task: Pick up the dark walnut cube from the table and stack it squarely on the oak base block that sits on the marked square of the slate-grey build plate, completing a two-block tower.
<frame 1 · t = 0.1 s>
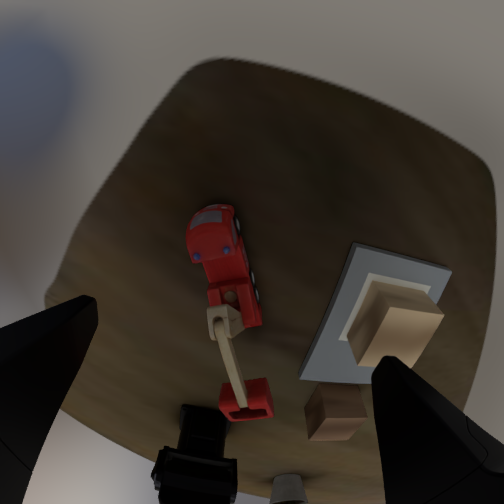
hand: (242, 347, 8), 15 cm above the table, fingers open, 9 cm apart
build plate: (374, 324, 25), on the table
oak base block: (386, 313, 24), point 1 cm above the table, touching build plate
house plant: (293, 477, 41), on the table
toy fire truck: (235, 280, 24), on the table
walnut cube: (330, 396, 30), on the table
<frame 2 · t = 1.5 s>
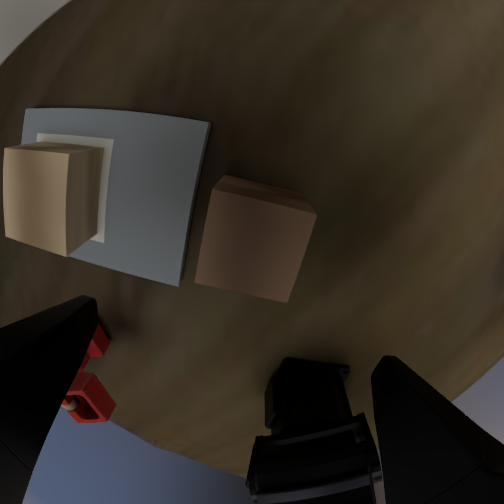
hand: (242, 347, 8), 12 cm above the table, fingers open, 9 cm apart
build plate: (95, 186, 17), on the table
oak base block: (66, 185, 16), point 1 cm above the table, touching build plate
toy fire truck: (82, 328, 23), on the table
walnut cube: (254, 220, 18), on the table
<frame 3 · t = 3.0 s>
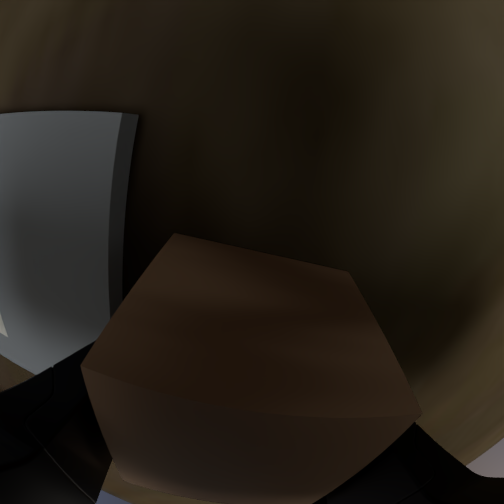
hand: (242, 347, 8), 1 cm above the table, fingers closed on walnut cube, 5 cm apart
walnut cube: (244, 324, 9), on the table, touching gripper
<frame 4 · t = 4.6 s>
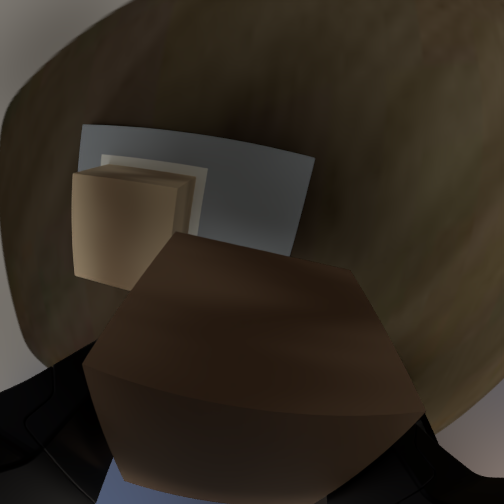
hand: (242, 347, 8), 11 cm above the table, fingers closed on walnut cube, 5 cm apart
build plate: (178, 217, 18), on the table
oak base block: (144, 215, 17), point 1 cm above the table, touching build plate
walnut cube: (246, 323, 9), point 10 cm above the table, touching gripper
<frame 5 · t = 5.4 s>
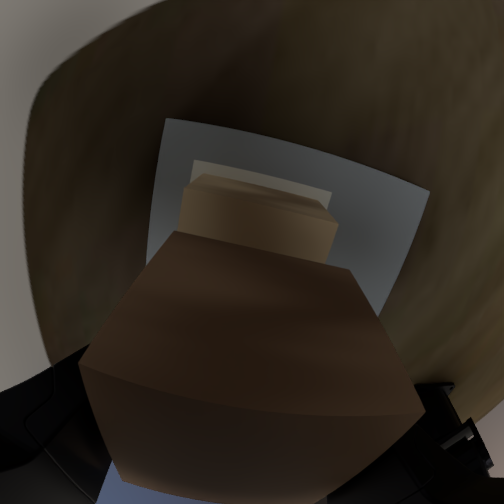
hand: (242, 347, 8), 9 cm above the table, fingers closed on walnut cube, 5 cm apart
build plate: (282, 241, 16), on the table
oak base block: (248, 240, 15), point 1 cm above the table, touching build plate
walnut cube: (244, 323, 9), point 8 cm above the table, touching gripper
when the fingers open (7 cm above the table, at t = 6.1 s): walnut cube drops 1 cm, resting on oak base block.
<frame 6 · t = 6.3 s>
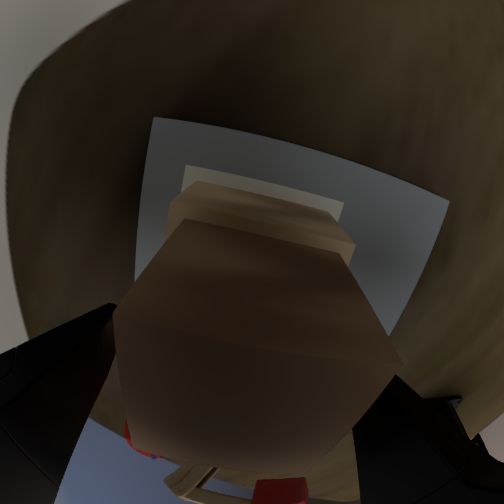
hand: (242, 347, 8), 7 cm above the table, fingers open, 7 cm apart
build plate: (287, 256, 14), on the table
oak base block: (248, 256, 13), point 1 cm above the table, touching build plate, walnut cube
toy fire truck: (210, 406, 20), on the table
walnut cube: (246, 302, 10), point 5 cm above the table, touching oak base block
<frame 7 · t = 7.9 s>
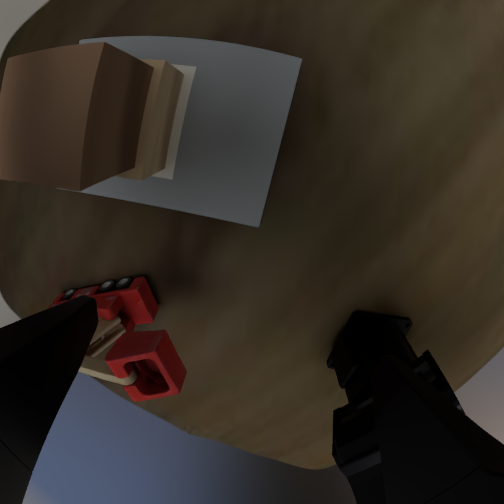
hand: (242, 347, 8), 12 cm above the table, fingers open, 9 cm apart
build plate: (163, 119, 16), on the table
oak base block: (129, 116, 15), point 1 cm above the table, touching build plate, walnut cube
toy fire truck: (122, 294, 22), on the table
walnut cube: (98, 113, 11), point 5 cm above the table, touching oak base block
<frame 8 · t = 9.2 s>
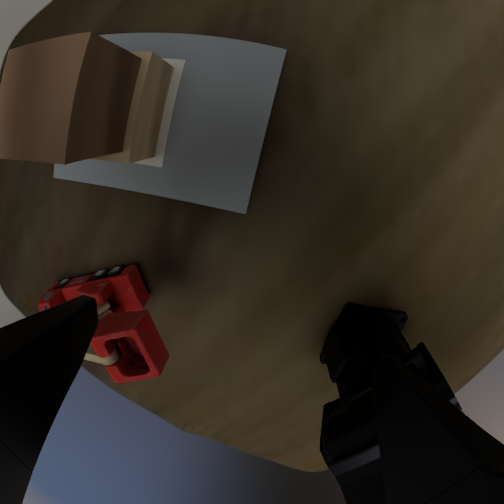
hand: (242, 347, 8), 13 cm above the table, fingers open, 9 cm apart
build plate: (154, 110, 16), on the table
oak base block: (122, 107, 15), point 1 cm above the table, touching build plate, walnut cube
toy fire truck: (115, 283, 22), on the table
walnut cube: (91, 102, 12), point 5 cm above the table, touching oak base block
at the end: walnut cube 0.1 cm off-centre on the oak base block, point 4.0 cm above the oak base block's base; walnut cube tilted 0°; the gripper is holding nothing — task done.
